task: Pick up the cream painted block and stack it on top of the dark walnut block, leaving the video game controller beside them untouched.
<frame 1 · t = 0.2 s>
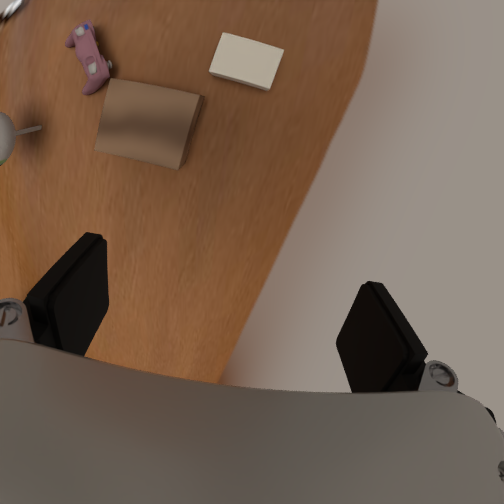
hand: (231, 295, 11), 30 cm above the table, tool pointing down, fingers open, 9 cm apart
cream block: (245, 64, 32), on the table
walnut block: (154, 120, 35), on the table
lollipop: (40, 127, 34), on the table
video game controller: (95, 58, 30), on the table
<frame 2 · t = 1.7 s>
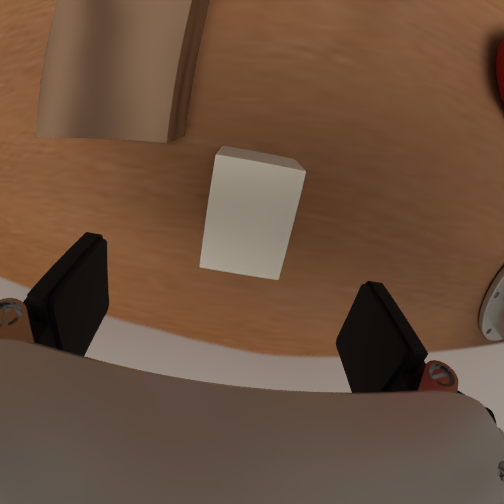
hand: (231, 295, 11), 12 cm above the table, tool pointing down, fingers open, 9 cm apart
cream block: (249, 199, 22), on the table
walnut block: (135, 57, 17), on the table
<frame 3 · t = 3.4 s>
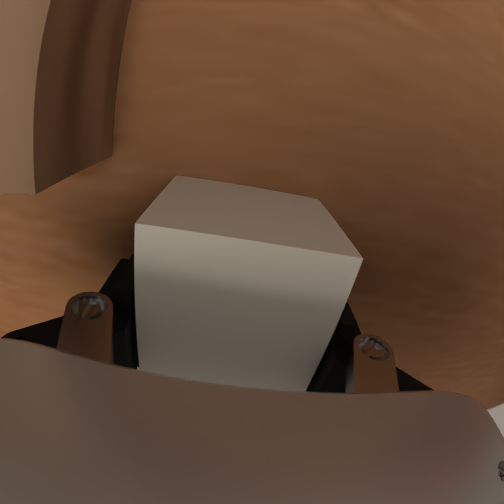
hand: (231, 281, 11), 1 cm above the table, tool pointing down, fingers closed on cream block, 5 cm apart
cream block: (232, 273, 12), on the table, touching gripper
walnut block: (34, 28, 7), on the table
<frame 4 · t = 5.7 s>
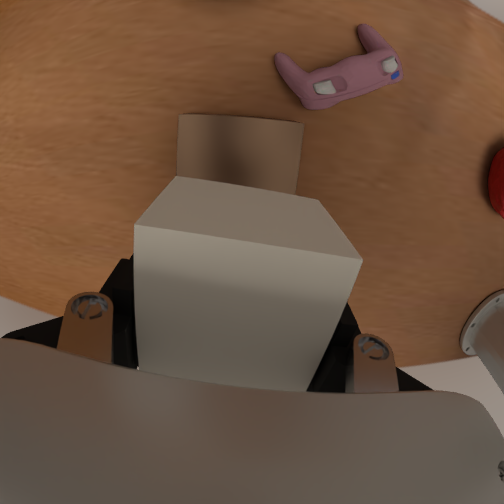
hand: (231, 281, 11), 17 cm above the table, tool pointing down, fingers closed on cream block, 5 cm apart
pomegranate: (502, 176, 27), on the table
cream block: (232, 274, 12), point 17 cm above the table, touching gripper
walnut block: (236, 175, 27), on the table
video game controller: (332, 66, 23), on the table
when the fingers open (7 cm above the table, at t = 8.0 s): cream block drops 1 cm, resting on walnut block.
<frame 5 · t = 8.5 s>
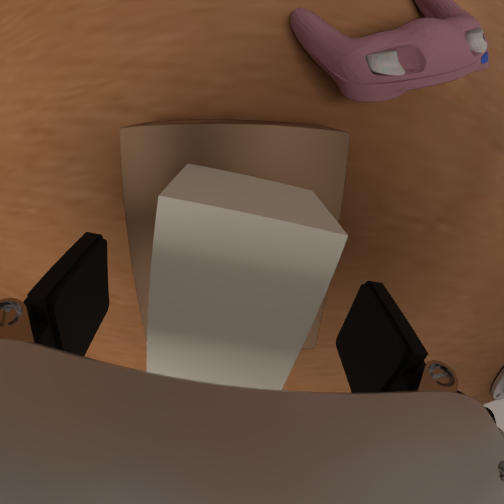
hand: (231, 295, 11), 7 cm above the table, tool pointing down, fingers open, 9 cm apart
cream block: (232, 255, 13), point 5 cm above the table, touching walnut block
walnut block: (233, 216, 18), on the table, touching cream block
video game controller: (378, 39, 13), on the table
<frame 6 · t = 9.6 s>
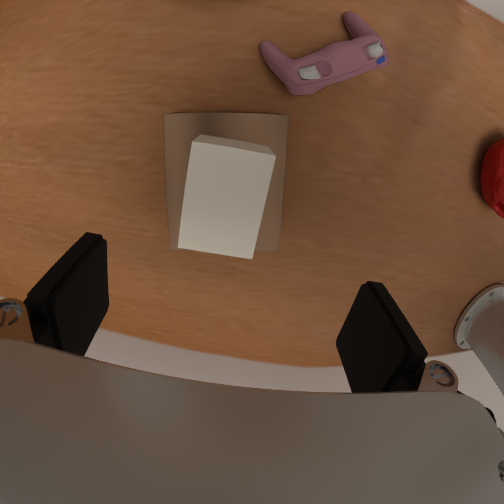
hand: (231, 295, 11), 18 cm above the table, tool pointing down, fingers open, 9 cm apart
pomegranate: (494, 170, 28), on the table
cream block: (225, 184, 23), point 5 cm above the table, touching walnut block
walnut block: (226, 171, 27), on the table, touching cream block
video game controller: (318, 54, 22), on the table
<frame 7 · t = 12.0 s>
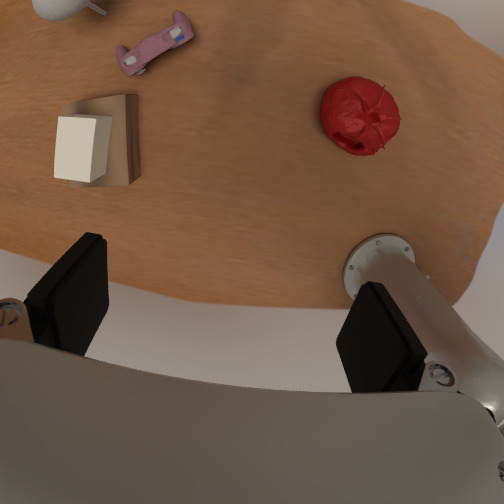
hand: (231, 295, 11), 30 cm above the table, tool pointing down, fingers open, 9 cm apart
pomegranate: (350, 114, 36), on the table
cream block: (91, 143, 31), point 5 cm above the table, touching walnut block
walnut block: (109, 138, 36), on the table, touching cream block
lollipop: (105, 13, 27), on the table
video game controller: (158, 46, 31), on the table
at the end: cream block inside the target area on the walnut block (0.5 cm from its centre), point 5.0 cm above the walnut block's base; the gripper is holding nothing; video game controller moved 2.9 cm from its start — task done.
